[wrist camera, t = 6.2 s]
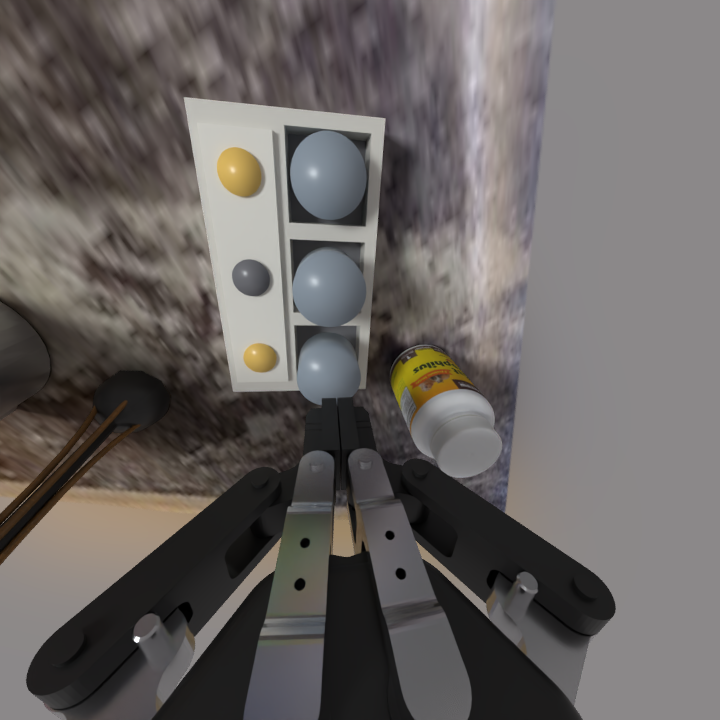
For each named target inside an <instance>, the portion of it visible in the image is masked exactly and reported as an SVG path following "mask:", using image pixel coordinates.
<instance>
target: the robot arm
mask: <svg viewBox="0 0 720 720" xmlns="http://www.w3.org/2000/svg"><path fill="white" fill-rule="evenodd" d="M49 374H50V358H49V355H48V352H47V349H46V346H45V345H44V343H43V341H42V340H41V338H40V337H39V335H38V333H37V332H36V331H35V330H34V329H33V328H32V327H31V326H30V324H29V323H28V322H27V321H26V320H25V319H23V318H22V317H21V316H20V315H19V314H17V313H16V312H15V311H14V310H13V309H11V308H10V307H8V306H6V305H5V304H3V303H2V302H0V420H2V419H3V418H5V417H6V416H8V415H9V414H11V413H12V412H14V411H15V410H16V409H17V405H19V404H20V403H22V402H23V401H25V400H26V399H28V398H29V397H31V396H32V395H34V394H35V393H36V392H38V391H39V390H40V389H42V388H43V386H44V385H45V383H46V382H47V380H48V377H49ZM340 479H341V490H347V510H348V516H349V522H350V528H351V534H352V540H353V546H354V554H355V555H354V556H351V557H342V556H336V555H332V554H333V530H334V505H335V503H336V490H340ZM281 537H282V538H281ZM280 538H281V543H280V548H279V554H278V558H277V563H276V569H275V571H274V572H272V573H271V574H269V575H268V576H266V577H265V578H264V579H263V580H262V581H260V583H259V584H258V585H257V586H256V587H255V588H254V589H253V590H252V591H251V592H250V594H249V595H248V596H247V597H246V599H245V600H244V601H243V603H242V604H241V605H240V607H239V608H238V609H237V610H236V612H235V613H234V614H233V615H232V617H231V618H230V619H229V621H228V622H227V623H226V624H225V626H224V627H223V628H222V629H221V631H220V632H219V633H218V635H217V636H216V637H215V638H214V640H213V641H212V643H211V644H210V645H209V646H208V647H207V649H206V650H205V651H204V653H203V654H202V655H201V656H200V658H199V659H198V660H197V662H196V663H195V664H194V666H193V667H192V668H191V669H190V671H189V672H188V673H187V674H186V676H185V677H184V678H183V680H182V681H181V682H180V683H179V685H178V686H177V684H178V682H179V680H180V679H181V678H182V676H183V675H184V673H185V672H186V670H187V669H188V667H189V665H190V663H191V660H192V658H193V655H194V650H195V638H194V637H195V636H196V635H197V633H198V632H199V631H200V630H201V629H202V627H203V626H204V625H205V624H206V623H207V622H208V621H209V620H210V618H211V617H212V616H213V615H214V614H215V613H216V611H217V610H218V609H219V608H220V607H221V606H222V605H223V603H224V602H225V601H226V600H227V599H228V598H229V597H230V595H231V594H232V593H233V592H234V591H235V590H236V589H237V587H238V586H239V585H240V584H241V583H242V582H243V581H244V579H245V578H246V577H247V576H248V575H249V574H250V572H251V571H252V570H253V569H254V568H255V567H256V566H257V564H258V563H259V562H260V561H261V560H262V559H263V558H264V556H265V555H266V554H267V553H268V552H269V550H271V548H272V547H273V546H274V545H275V544H276V543H277V541H278V540H279V539H280ZM415 540H416V541H417V542H418V543H419V544H420V545H421V546H422V547H423V548H425V549H426V550H427V551H428V552H429V553H430V554H431V555H432V556H433V557H435V558H436V559H437V560H438V561H439V562H440V563H441V564H442V565H444V566H445V567H446V568H447V569H448V570H449V571H450V572H451V573H452V574H454V575H455V576H456V577H457V578H458V579H459V580H460V581H461V582H463V583H464V584H465V585H466V586H467V587H468V588H469V589H470V590H471V591H473V592H474V593H475V594H476V595H477V596H478V597H479V598H480V599H482V600H483V601H484V602H485V603H486V608H487V612H488V615H489V618H490V620H491V621H490V620H489V619H488V618H487V617H486V616H485V615H484V614H483V613H482V612H481V611H480V610H479V609H478V608H477V607H476V606H475V605H474V604H473V603H472V602H471V601H470V600H469V599H468V598H467V597H466V596H465V595H464V594H463V593H462V592H461V591H460V590H458V589H457V588H456V587H455V586H454V585H453V584H452V583H451V582H450V581H449V580H448V579H447V578H446V577H445V576H444V575H443V574H442V573H441V572H440V571H439V570H438V569H437V568H435V567H434V566H433V565H431V564H430V563H428V562H427V561H425V560H423V559H422V558H421V555H420V552H419V550H418V546H417V543H416V541H415ZM615 609H616V608H615V602H614V599H613V596H612V594H611V592H610V591H609V589H608V588H607V586H606V585H605V584H604V583H603V582H602V580H601V579H600V578H599V577H598V576H596V575H595V574H594V573H593V572H591V571H590V570H588V569H587V568H586V567H584V566H583V565H581V564H580V563H578V562H577V561H575V560H574V559H572V558H571V557H569V556H568V555H566V554H565V553H563V552H562V551H560V550H559V549H557V548H556V547H554V546H553V545H551V544H550V543H548V542H547V541H545V540H544V539H542V538H541V537H539V536H538V535H536V534H535V533H533V532H532V531H530V530H529V529H528V528H526V527H525V526H523V525H522V524H520V523H519V522H517V521H516V520H514V519H513V518H511V517H510V516H508V515H507V514H505V513H504V512H502V511H501V510H499V509H498V508H496V507H495V506H493V505H492V504H490V503H489V502H487V501H486V500H484V499H483V498H481V497H480V496H478V495H477V494H475V493H474V492H472V491H471V490H469V489H468V488H466V487H465V486H463V485H462V484H460V483H459V482H458V481H456V480H455V479H453V478H452V477H450V476H449V475H447V474H446V473H444V472H443V471H441V470H440V469H438V468H437V467H435V466H434V465H432V464H431V463H429V462H427V461H425V460H422V459H411V460H408V461H407V462H405V463H404V465H403V466H401V465H397V464H392V463H389V462H387V461H385V460H384V459H382V458H381V456H380V455H379V454H378V453H377V450H376V445H375V441H374V436H373V432H372V428H371V423H370V418H369V414H368V412H367V411H366V410H365V409H364V408H363V407H353V400H352V397H338V398H337V401H336V398H322V408H317V409H311V410H310V411H309V412H308V414H307V415H306V425H305V438H304V451H303V457H302V459H301V460H300V462H299V464H298V465H296V466H295V467H294V468H292V469H290V470H287V471H284V472H281V473H278V472H277V471H276V470H275V469H273V468H269V467H261V468H257V469H254V470H252V471H251V472H249V473H248V474H247V475H245V476H244V477H243V478H242V479H240V480H239V481H238V482H237V483H236V484H234V485H233V486H232V487H231V488H230V489H228V490H227V491H226V492H225V493H223V494H222V495H221V496H220V497H219V498H217V499H216V500H215V501H214V502H213V503H211V504H210V505H209V506H208V507H206V508H205V509H204V510H203V511H202V512H200V513H199V514H198V515H197V516H196V517H194V518H193V519H192V520H191V521H189V522H188V523H187V524H186V525H185V526H183V527H182V528H181V529H180V530H179V531H177V532H176V533H175V534H174V535H172V536H171V537H170V538H169V539H168V540H166V541H165V542H164V543H163V544H162V545H160V546H159V547H158V548H157V549H156V550H154V551H153V552H152V553H151V554H150V555H148V556H147V557H146V558H144V559H143V560H142V561H141V562H140V563H138V564H137V565H136V566H135V567H134V568H132V570H130V571H129V572H127V573H126V574H125V575H124V576H123V577H121V578H120V579H119V580H118V581H117V582H116V583H114V584H113V585H112V586H111V587H109V588H108V589H107V590H106V591H104V592H103V593H102V594H101V595H100V596H98V597H97V598H96V599H95V600H93V601H92V602H91V603H90V604H89V605H87V606H86V607H85V608H84V609H83V610H81V611H80V612H79V613H78V614H76V615H75V616H74V617H73V618H72V619H70V620H69V621H68V622H67V623H66V624H64V625H63V626H62V627H61V628H59V629H58V630H57V631H56V632H55V633H54V634H53V635H52V636H51V637H50V638H49V639H48V640H47V641H46V642H45V643H44V644H43V645H42V647H41V648H40V649H39V651H38V652H37V654H36V655H35V657H34V659H33V660H32V662H31V665H30V667H29V670H28V673H27V679H26V683H27V687H28V690H29V691H30V692H31V693H32V694H33V695H35V696H36V697H37V698H39V699H40V700H41V701H43V703H44V705H45V707H46V708H47V709H48V710H49V711H51V712H52V713H53V714H54V715H56V716H57V717H58V718H60V719H61V720H582V718H581V716H580V714H579V713H578V712H577V710H576V709H575V707H574V703H575V699H576V694H577V690H578V686H579V682H580V678H581V673H582V669H583V665H584V660H585V657H586V652H587V648H588V644H589V642H590V641H591V640H592V639H593V638H594V637H595V636H596V635H597V634H598V632H599V631H600V630H601V629H602V628H603V627H604V626H605V624H606V623H607V622H608V621H609V620H610V619H611V618H612V617H613V616H614V613H615ZM176 686H177V687H176ZM175 688H176V689H175Z"/></svg>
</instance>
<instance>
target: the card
mask: <svg viewBox="0 0 720 720" xmlns="http://www.w3.org/2000/svg"><path fill="white" fill-rule="evenodd" d="M197 128H198V134H199V140H200V147H201V153H202V160H203V166H204V172H205V179H206V185H207V191H208V198H209V204H210V211H211V217H212V223H213V230H214V236H215V242H216V249H217V255H218V262H219V268H220V274H221V281H222V287H223V294H224V300H225V306H226V313H227V319H228V325H229V332H230V338H231V345H232V351H233V357H234V364H235V370H236V376H237V382H288V381H289V377H288V361H287V346H286V330H285V315H284V299H283V284H282V268H281V253H280V238H279V222H278V207H277V191H276V176H275V160H274V145H273V131H272V130H270V129H259V128H249V127H238V126H228V125H217V124H207V123H197Z"/></svg>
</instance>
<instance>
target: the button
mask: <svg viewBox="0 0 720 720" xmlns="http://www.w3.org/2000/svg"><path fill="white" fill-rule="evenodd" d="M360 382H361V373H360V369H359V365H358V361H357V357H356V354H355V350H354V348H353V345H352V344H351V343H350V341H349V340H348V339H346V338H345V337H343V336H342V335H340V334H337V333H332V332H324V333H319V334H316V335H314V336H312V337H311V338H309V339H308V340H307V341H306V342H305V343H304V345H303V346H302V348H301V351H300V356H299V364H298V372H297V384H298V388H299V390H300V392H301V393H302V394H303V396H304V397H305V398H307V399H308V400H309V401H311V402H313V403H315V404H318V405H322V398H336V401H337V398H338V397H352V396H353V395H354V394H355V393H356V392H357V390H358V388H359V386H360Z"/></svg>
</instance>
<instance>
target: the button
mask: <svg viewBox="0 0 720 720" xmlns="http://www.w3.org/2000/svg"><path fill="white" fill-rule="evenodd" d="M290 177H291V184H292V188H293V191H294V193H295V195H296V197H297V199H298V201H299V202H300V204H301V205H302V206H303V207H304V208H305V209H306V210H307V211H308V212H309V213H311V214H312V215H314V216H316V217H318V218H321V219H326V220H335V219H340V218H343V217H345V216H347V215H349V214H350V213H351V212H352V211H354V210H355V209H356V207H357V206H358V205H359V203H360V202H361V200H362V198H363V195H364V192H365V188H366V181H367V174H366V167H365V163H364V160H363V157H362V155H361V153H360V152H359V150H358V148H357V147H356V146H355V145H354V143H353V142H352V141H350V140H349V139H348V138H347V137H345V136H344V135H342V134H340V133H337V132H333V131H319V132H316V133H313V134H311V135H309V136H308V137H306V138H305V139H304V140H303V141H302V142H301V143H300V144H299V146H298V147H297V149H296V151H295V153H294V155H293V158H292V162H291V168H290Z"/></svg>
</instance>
